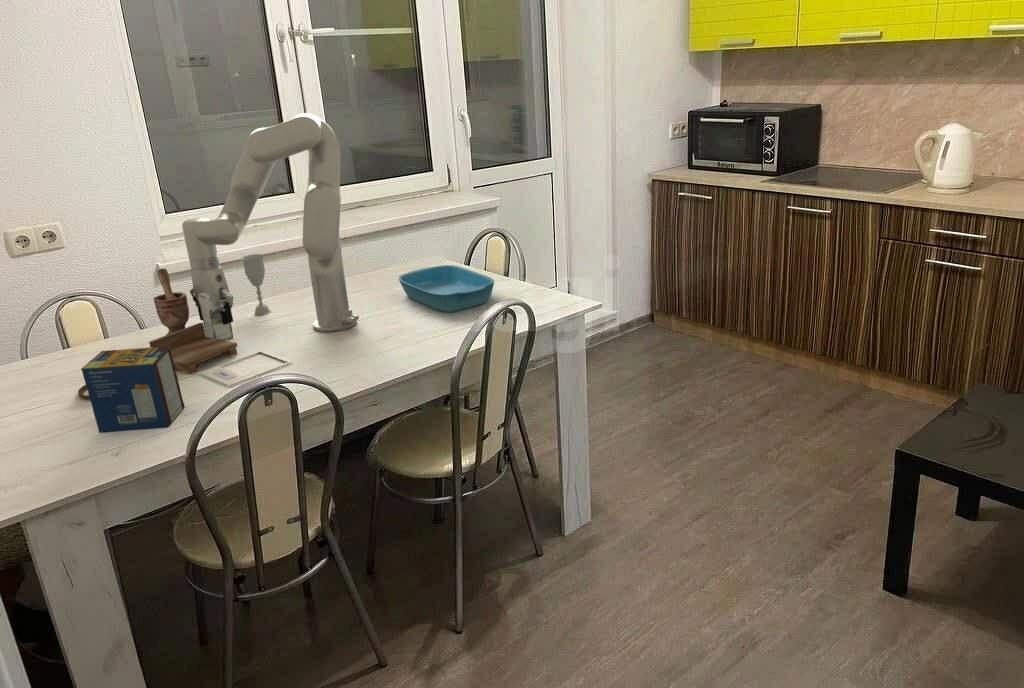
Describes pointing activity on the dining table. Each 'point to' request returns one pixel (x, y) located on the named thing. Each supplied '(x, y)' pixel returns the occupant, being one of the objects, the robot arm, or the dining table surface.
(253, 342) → the dining table surface
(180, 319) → the mortar and pestle
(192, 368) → the shelf
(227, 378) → the photo frame
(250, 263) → the chalice
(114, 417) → the protein box
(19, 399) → the dining table surface
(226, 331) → the syrup box
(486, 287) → the casserole dish
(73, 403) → the dining table surface
